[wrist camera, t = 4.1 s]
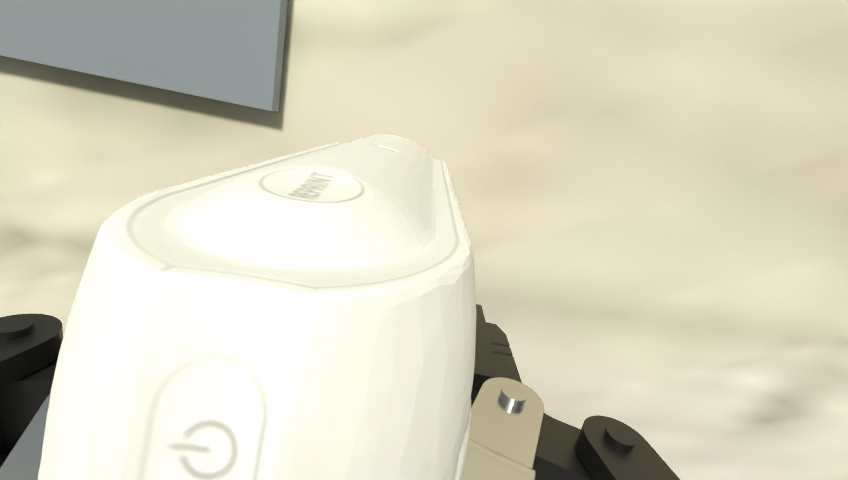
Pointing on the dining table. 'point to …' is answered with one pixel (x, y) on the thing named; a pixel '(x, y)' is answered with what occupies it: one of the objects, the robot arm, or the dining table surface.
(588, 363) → the dining table surface
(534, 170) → the dining table surface
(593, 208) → the dining table surface
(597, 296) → the dining table surface
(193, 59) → the rubber mat
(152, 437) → the photo printer
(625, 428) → the robot arm
